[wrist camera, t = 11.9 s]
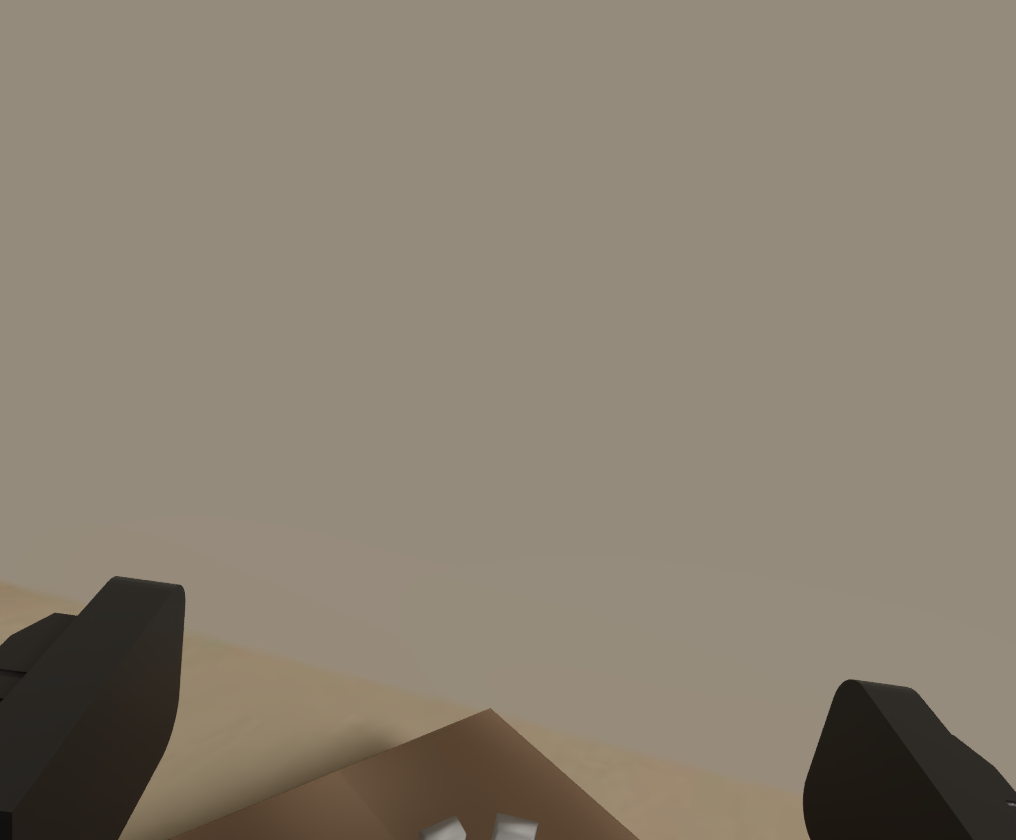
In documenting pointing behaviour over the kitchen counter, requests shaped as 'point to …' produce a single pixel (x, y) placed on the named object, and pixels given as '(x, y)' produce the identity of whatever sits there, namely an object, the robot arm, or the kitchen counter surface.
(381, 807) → the socket block
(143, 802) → the kitchen counter surface
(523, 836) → the rook chess piece
